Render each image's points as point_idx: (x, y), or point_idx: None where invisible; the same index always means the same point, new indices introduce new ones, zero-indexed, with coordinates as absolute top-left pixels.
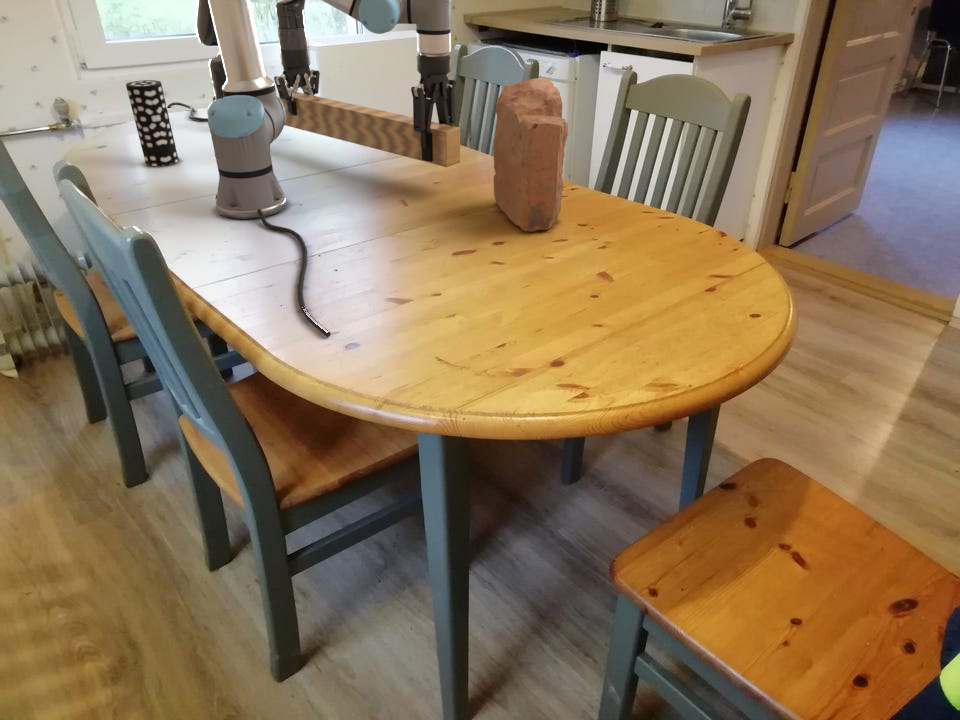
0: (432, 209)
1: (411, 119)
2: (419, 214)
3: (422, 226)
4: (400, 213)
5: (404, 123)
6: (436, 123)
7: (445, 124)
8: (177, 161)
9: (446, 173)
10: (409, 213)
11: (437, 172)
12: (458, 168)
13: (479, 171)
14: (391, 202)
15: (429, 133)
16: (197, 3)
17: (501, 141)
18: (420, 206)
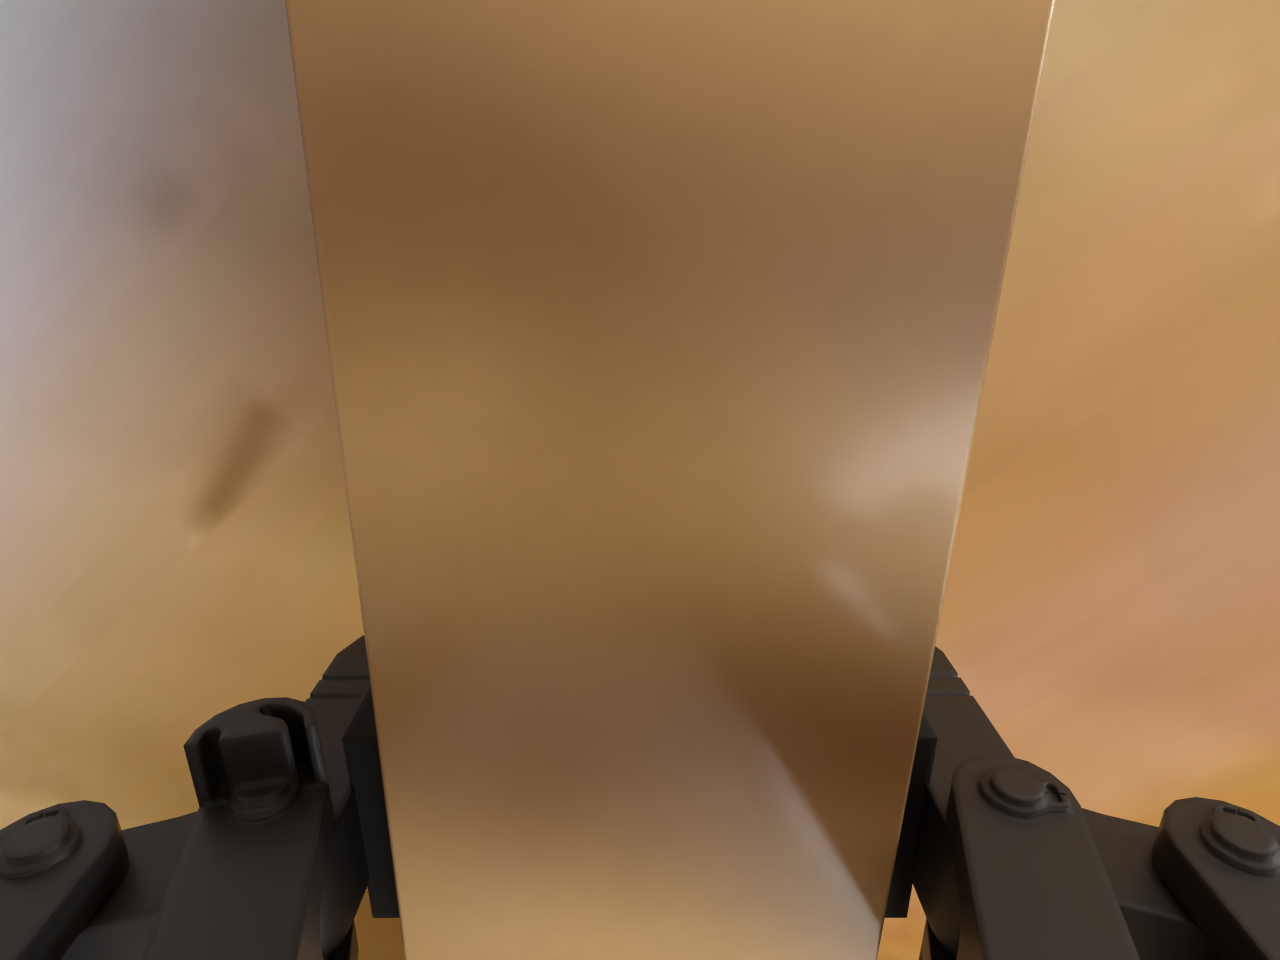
0: (305, 684)
1: (774, 27)
2: (177, 676)
3: (66, 797)
4: (84, 574)
5: (314, 122)
6: (830, 847)
7: (933, 951)
8: None
9: (1066, 252)
10: (135, 618)
11: (1053, 156)
12: (1266, 247)
13: (1254, 458)
14: (169, 373)
15: (393, 888)
16: None
17: None
18: (283, 593)
